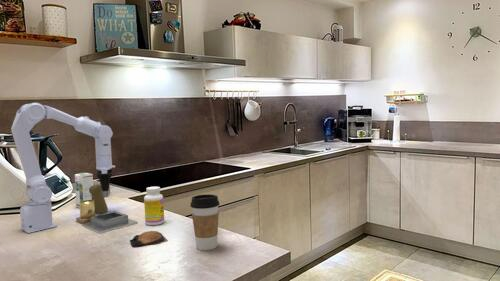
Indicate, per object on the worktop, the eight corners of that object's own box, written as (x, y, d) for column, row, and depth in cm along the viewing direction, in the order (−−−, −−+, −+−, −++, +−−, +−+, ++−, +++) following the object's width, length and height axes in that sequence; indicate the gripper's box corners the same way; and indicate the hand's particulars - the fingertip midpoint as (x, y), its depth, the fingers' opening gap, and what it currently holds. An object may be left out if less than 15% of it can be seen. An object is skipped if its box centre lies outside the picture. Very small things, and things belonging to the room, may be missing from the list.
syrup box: (75, 207, 159) (73, 174, 158) (89, 204, 164) (87, 172, 163) (81, 209, 155) (79, 175, 154) (95, 206, 160) (93, 173, 159)
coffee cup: (196, 254, 101) (194, 200, 100) (189, 244, 109) (186, 194, 108) (225, 248, 105) (223, 196, 103) (216, 239, 112) (214, 191, 111)
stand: (83, 224, 133) (83, 220, 133) (76, 221, 137) (76, 217, 137) (99, 220, 138) (99, 216, 137) (92, 217, 142) (92, 214, 142)
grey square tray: (99, 233, 122) (99, 224, 122) (81, 225, 132) (81, 217, 132) (137, 223, 133) (137, 214, 132) (118, 216, 142) (117, 208, 142)
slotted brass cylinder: (83, 219, 134) (82, 203, 133) (78, 217, 137) (76, 201, 137) (97, 216, 137) (96, 200, 137) (91, 214, 141) (90, 198, 140)
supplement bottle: (163, 225, 129) (161, 189, 128) (144, 226, 128) (142, 190, 127) (165, 219, 136) (163, 185, 135) (146, 221, 135) (144, 186, 134)
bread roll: (161, 236, 119) (161, 225, 119) (169, 243, 112) (168, 231, 112) (128, 242, 114) (127, 230, 114) (133, 250, 107) (132, 238, 107)
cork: (103, 207, 154) (98, 182, 152) (110, 209, 150) (106, 183, 148) (89, 212, 150) (84, 186, 148) (97, 215, 146) (91, 188, 144)
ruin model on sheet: (107, 198, 178) (106, 178, 177) (101, 198, 177) (99, 178, 176) (111, 193, 189) (109, 174, 188) (104, 193, 188) (103, 174, 187)
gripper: (114, 156, 140) (116, 191, 141) (114, 153, 154) (115, 185, 155) (94, 157, 138) (96, 193, 139) (95, 154, 151) (97, 186, 152)
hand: (105, 189), depth 146 cm, fingers open, 7 cm apart
